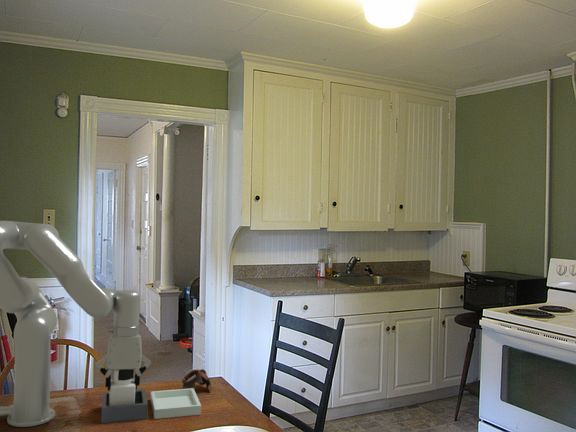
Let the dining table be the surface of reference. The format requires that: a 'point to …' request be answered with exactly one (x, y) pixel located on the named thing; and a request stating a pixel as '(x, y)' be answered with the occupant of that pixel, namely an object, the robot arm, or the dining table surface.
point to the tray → (175, 403)
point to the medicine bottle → (122, 388)
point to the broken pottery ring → (197, 379)
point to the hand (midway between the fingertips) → (122, 388)
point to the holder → (125, 409)
